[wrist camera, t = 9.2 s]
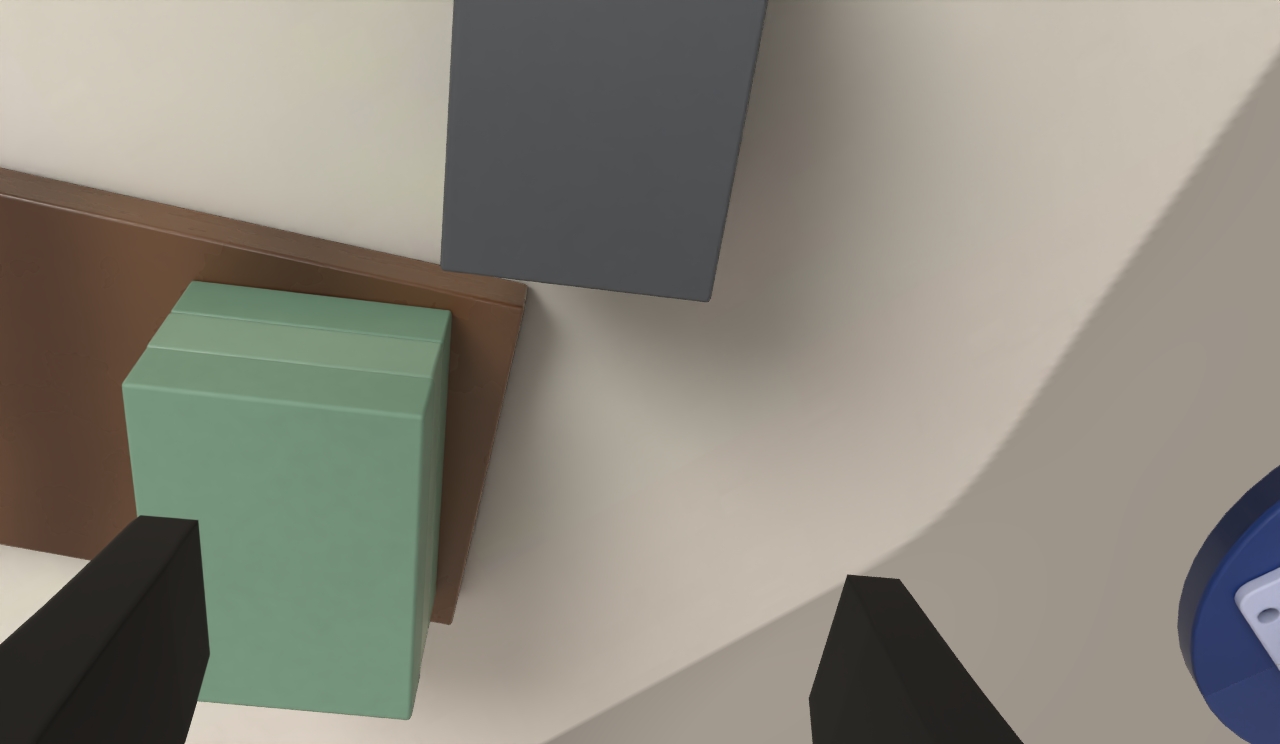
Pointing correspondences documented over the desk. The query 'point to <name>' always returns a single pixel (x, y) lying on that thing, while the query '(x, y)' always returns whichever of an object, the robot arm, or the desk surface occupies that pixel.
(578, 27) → the grey books
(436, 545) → the green flat block
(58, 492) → the book ledge
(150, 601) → the robot arm
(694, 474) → the desk surface
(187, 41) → the desk surface
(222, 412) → the sage book
